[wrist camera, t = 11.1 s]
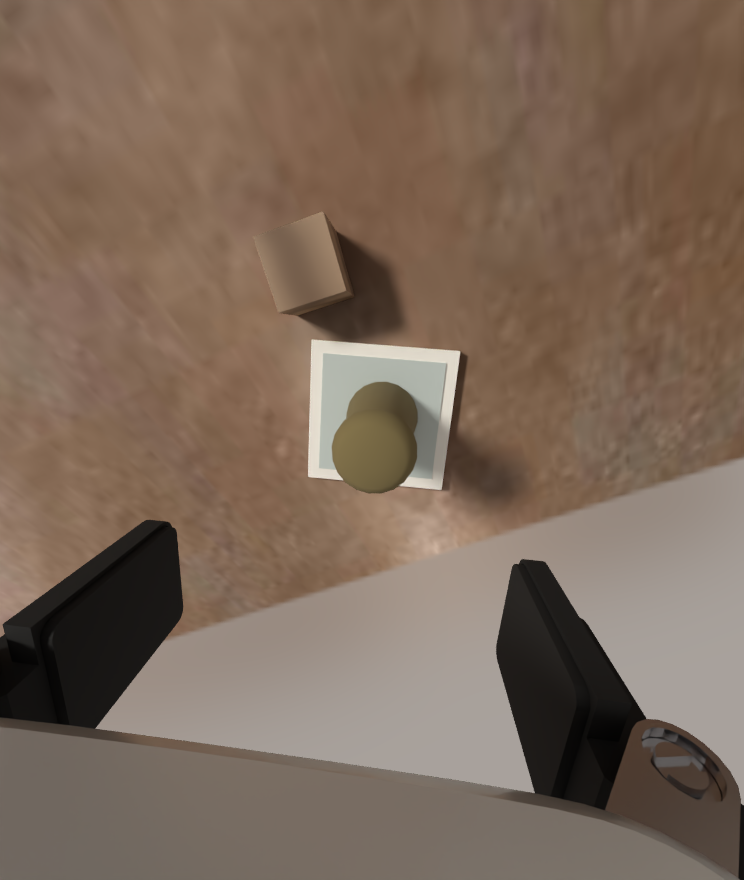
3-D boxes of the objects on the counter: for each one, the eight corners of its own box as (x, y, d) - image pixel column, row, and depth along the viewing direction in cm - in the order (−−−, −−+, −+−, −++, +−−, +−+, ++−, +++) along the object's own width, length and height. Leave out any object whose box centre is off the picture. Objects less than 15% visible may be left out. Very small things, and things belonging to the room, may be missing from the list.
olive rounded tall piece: (423, 445, 32) (433, 501, 22) (354, 456, 33) (332, 515, 22) (411, 375, 31) (417, 398, 20) (339, 388, 31) (308, 418, 21)
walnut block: (336, 231, 29) (323, 211, 24) (354, 297, 30) (346, 290, 26) (276, 252, 30) (252, 236, 25) (297, 315, 31) (278, 312, 26)
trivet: (458, 350, 31) (460, 351, 30) (440, 486, 34) (441, 490, 33) (313, 339, 31) (311, 339, 30) (310, 473, 35) (307, 477, 34)
